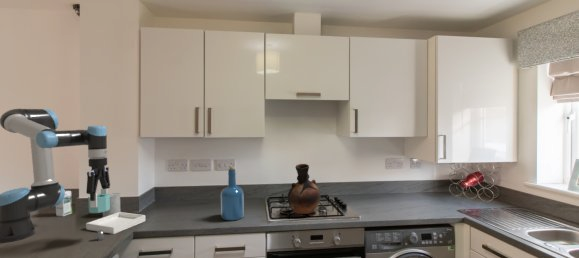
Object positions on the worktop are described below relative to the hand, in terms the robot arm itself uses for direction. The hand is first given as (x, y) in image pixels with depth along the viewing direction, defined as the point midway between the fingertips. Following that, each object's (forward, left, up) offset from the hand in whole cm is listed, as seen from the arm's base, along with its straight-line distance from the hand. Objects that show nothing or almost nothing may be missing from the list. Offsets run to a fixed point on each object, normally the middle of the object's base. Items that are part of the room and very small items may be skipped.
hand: (99, 204), depth 139 cm
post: (0, 0, -17) cm, 17 cm away
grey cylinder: (+29, +29, -17) cm, 45 cm away
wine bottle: (+48, -45, -17) cm, 68 cm away
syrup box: (+20, +58, -17) cm, 64 cm away
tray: (+17, +10, -17) cm, 26 cm away
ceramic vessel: (+68, -83, -17) cm, 109 cm away
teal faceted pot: (0, 0, -3) cm, 3 cm away
